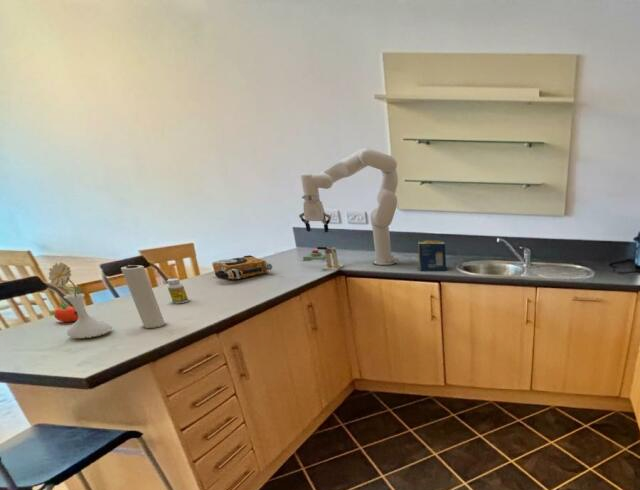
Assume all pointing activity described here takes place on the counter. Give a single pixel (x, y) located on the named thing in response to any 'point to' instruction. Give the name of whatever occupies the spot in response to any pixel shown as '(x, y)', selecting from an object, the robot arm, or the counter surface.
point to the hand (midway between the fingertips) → (317, 231)
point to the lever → (325, 249)
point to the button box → (314, 256)
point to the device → (240, 267)
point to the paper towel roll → (143, 296)
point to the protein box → (432, 255)
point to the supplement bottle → (177, 291)
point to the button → (315, 251)
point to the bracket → (328, 259)
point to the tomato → (66, 314)
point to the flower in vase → (77, 305)
